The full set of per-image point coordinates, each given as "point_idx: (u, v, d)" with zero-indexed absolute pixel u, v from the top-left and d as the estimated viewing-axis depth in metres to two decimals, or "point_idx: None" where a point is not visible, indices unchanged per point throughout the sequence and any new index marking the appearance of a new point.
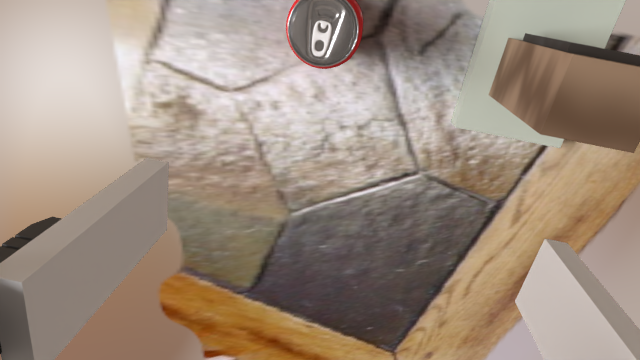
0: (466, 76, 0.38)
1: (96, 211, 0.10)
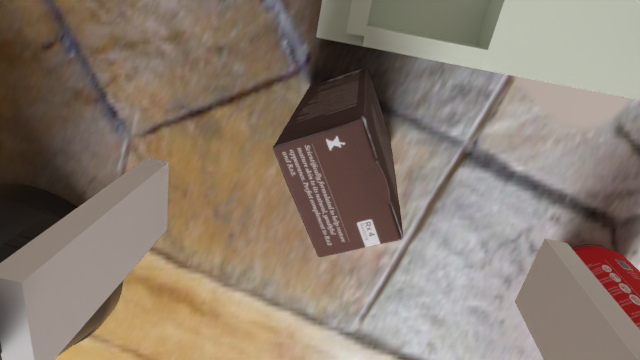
0: None
1: (96, 211, 0.10)
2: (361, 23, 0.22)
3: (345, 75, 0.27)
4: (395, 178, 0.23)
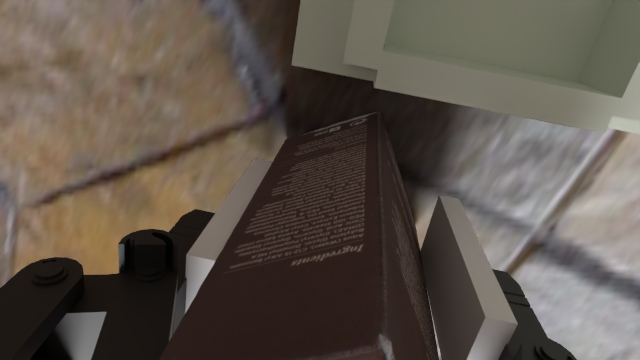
0: None
1: (240, 204, 0.12)
2: (372, 45, 0.11)
3: (343, 124, 0.16)
4: (433, 328, 0.13)
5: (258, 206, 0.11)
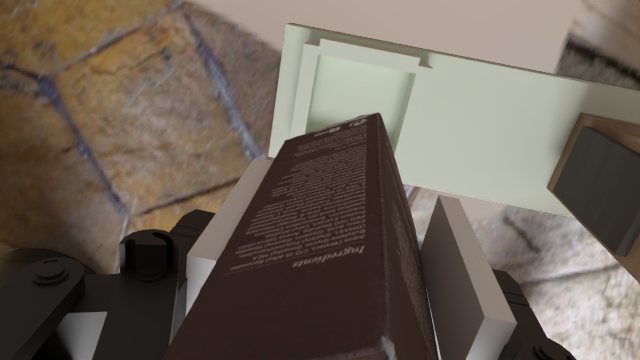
0: None
1: (241, 204, 0.12)
2: None
3: (343, 124, 0.16)
4: None
5: (258, 207, 0.11)
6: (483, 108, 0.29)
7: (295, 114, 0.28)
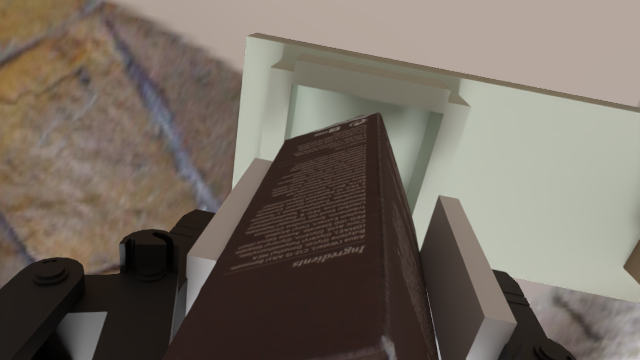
0: None
1: (241, 204, 0.12)
2: None
3: (343, 124, 0.16)
4: None
5: (258, 207, 0.11)
6: (538, 158, 0.20)
7: None
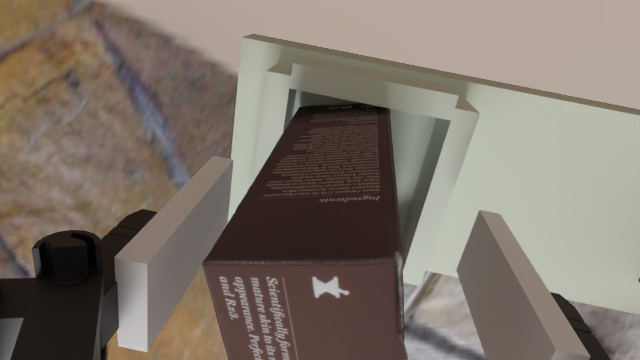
0: None
1: (187, 204, 0.12)
2: None
3: (354, 104, 0.18)
4: None
5: (282, 155, 0.13)
6: (549, 167, 0.19)
7: None
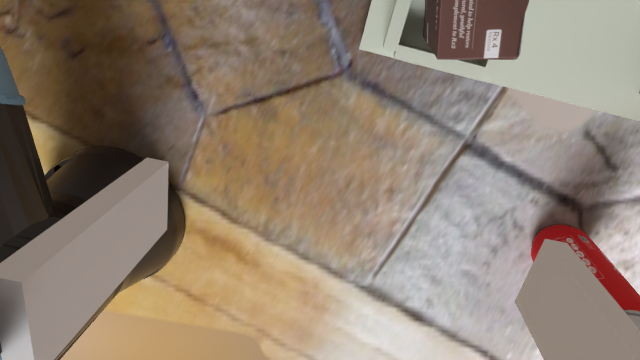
0: None
1: (96, 211, 0.10)
2: (394, 42, 0.30)
3: None
4: None
5: None
6: (586, 3, 0.29)
7: None
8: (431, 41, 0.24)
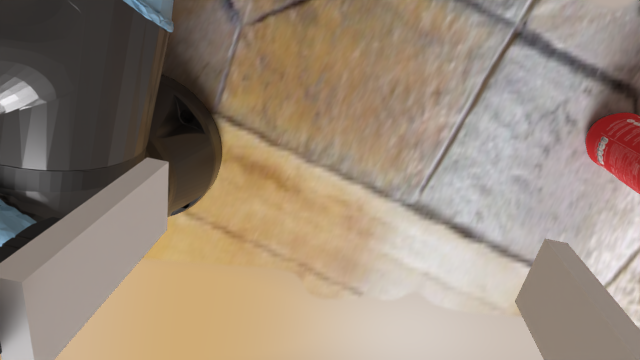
0: None
1: (96, 211, 0.10)
2: None
3: None
4: None
5: None
6: None
7: None
8: None
